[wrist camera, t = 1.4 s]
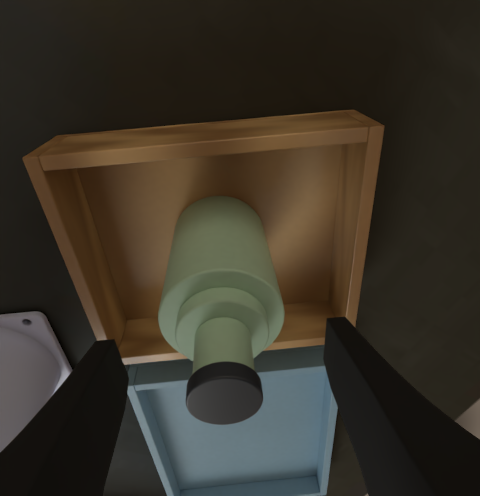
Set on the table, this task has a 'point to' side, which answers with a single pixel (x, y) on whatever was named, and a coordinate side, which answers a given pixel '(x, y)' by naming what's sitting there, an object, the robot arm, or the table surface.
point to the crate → (206, 185)
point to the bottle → (221, 306)
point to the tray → (241, 429)
